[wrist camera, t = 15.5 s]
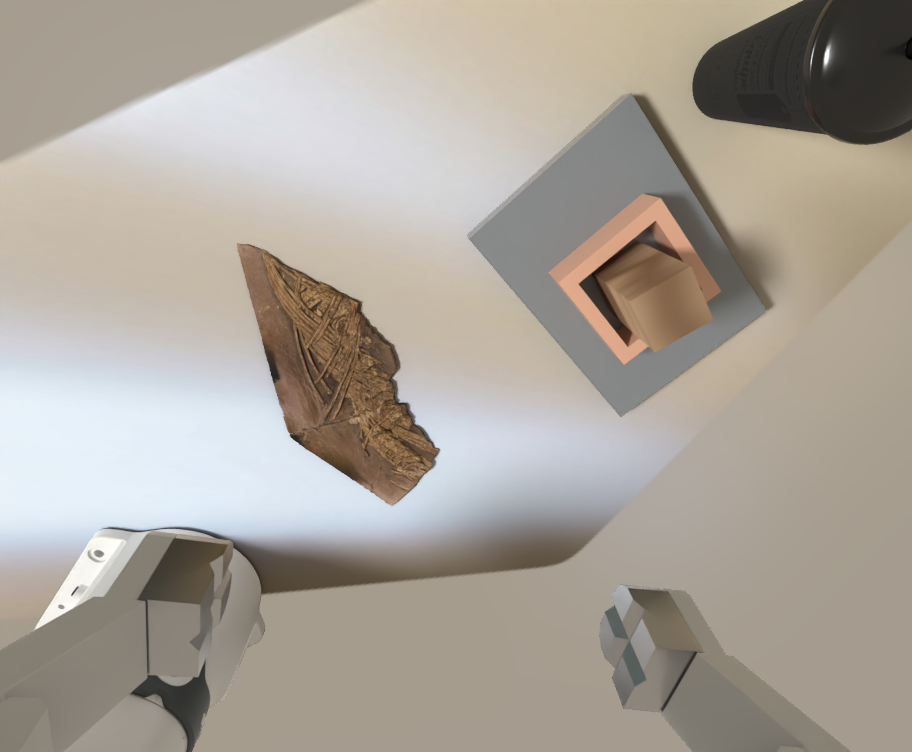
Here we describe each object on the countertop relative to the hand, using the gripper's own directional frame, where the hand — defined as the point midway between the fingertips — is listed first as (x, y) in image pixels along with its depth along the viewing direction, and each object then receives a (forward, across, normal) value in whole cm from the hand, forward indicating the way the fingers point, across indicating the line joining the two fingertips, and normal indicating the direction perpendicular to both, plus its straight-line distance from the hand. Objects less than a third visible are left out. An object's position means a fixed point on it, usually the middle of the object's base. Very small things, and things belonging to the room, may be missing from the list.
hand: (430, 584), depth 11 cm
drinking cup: (+31, -18, -16) cm, 40 cm away
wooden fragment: (+32, +5, +11) cm, 34 cm away
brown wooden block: (+30, -15, -2) cm, 33 cm away
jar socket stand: (+31, -15, -2) cm, 35 cm away
